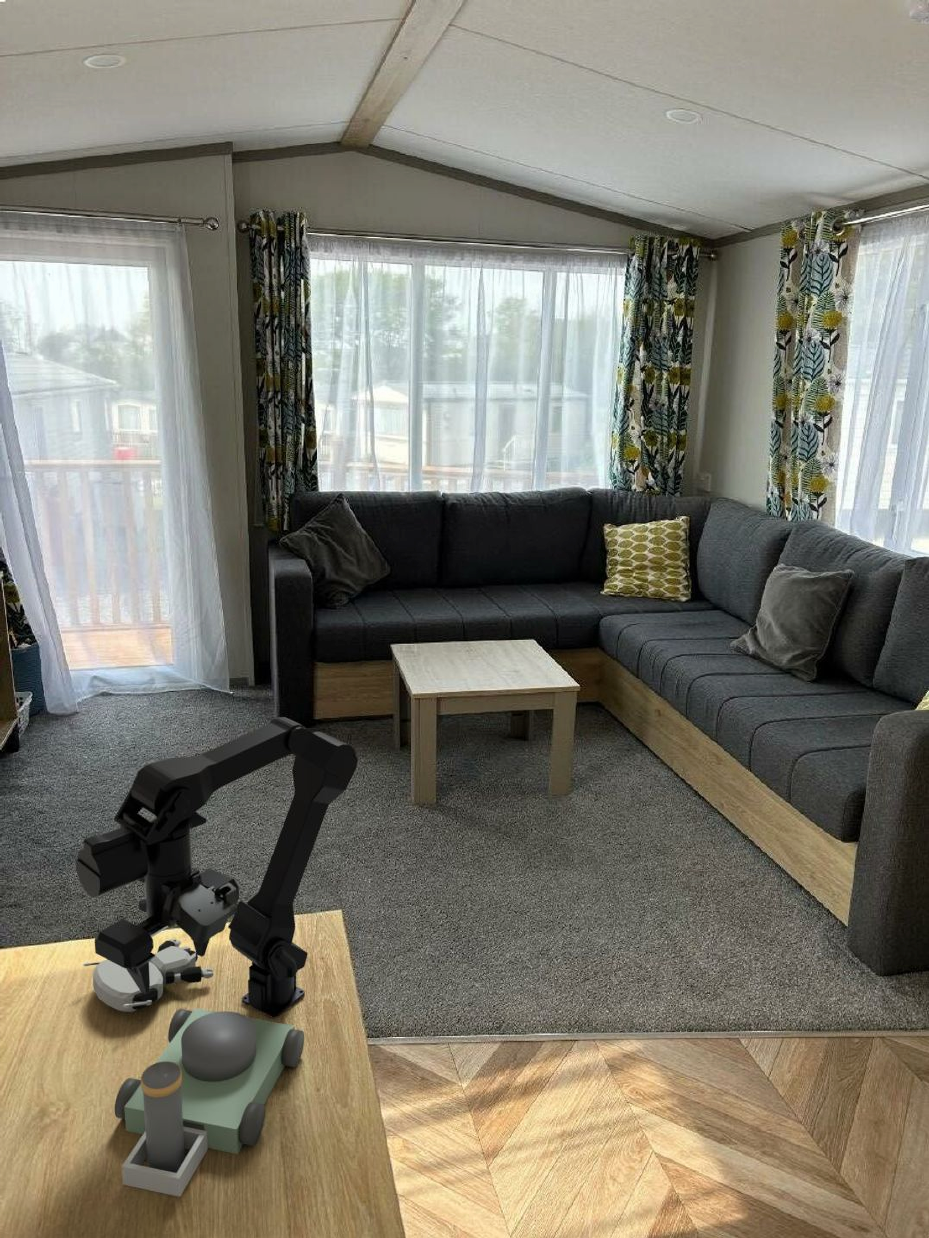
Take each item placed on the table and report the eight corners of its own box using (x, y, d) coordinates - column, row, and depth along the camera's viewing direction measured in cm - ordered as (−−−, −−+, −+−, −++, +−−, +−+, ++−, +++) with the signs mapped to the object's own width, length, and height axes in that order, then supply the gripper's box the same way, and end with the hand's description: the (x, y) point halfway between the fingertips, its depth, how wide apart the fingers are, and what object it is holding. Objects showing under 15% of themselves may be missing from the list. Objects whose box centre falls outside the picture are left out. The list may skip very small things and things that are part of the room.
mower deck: (185, 1027, 134) (183, 986, 132) (305, 1049, 131) (304, 1008, 129) (81, 1175, 110) (77, 1127, 108) (223, 1206, 107) (221, 1158, 105)
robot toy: (175, 953, 151) (79, 989, 140) (176, 926, 150) (79, 960, 139) (218, 992, 143) (119, 1033, 132) (219, 964, 142) (120, 1003, 131)
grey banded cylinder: (156, 1148, 114) (150, 1058, 111) (192, 1153, 114) (187, 1062, 110) (140, 1179, 110) (134, 1086, 106) (177, 1183, 110) (172, 1091, 106)
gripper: (153, 922, 110) (160, 1039, 114) (269, 852, 125) (271, 958, 129) (87, 890, 115) (96, 1003, 120) (206, 827, 131) (210, 930, 135)
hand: (173, 973), depth 126 cm, fingers open, 9 cm apart
